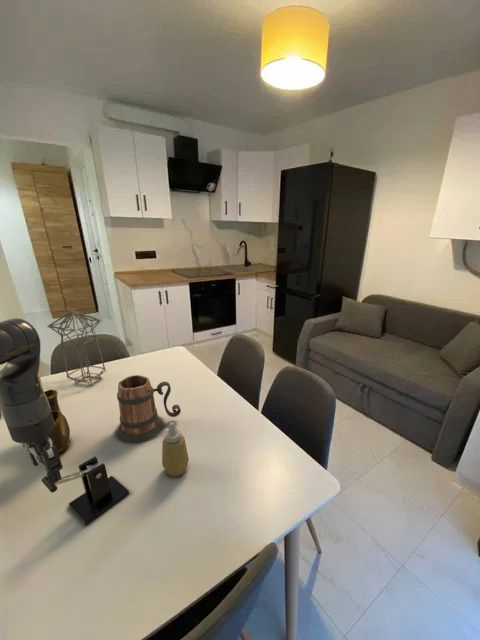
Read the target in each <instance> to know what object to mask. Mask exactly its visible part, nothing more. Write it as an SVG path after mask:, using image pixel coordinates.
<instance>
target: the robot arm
mask: <svg viewBox="0 0 480 640" xmlns="http://www.w3.org/2000/svg"><path fill="white" fill-rule="evenodd" d="M36 329H37V328H35V327H34V325H32V324H31V323H30V322H29V321H27V320H25V319H23V318H18V317H16V318H15V317H13V318H9V319H5V320H2V321H0V366H1V365H4V364H5V366H3V368H1V369H0V408H1V413H2V416H3V418H4V421H5V424H6V427H7V430H8V433H9V436H10V438H11V440H12V441H13V442H15V443H17V444H22V447H23V448H24V449H25V451H26V452H27V454H29V456H30V459H31V462H32V465H33V466H34V467H38V466H40V465H41V466H42V468H43V470H44V473H45V476H47V478H48V481H49V483H50V484H51V485H52V484H54V483H56V482H58V481H59V480H61V477H62V476H61V471H60V470H62V469H63V467H64V466H63V463H62V461H61V457H60V455H59V454H58V451H57V447H55V446H53V445H52V440H51V439H50V437H48V435H49V434H50V433H51V432H52V431H53V430H54V428H55V423H54V419H53V416H52V412H51V409H50V405H49V402H48V399H47V397H46V395H45V393H44V392H45V390H44V387H43V383H42V380H41V375H40V366H41V349H42V348H41V338H40V335H39V333H38V331H37V330H36ZM47 437H48V438H47Z"/></svg>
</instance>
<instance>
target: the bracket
mask: <svg viewBox="0 0 480 640" xmlns="http://www.w3.org/2000/svg"><path fill="white" fill-rule="evenodd" d="M95 463H98V464H99V461H98V457H96V456H93V457H91V458H90V459H88V460H86V461H84V462H83V463H81V464H79V465H78V466H77V467H78V472H80V471H84V470H86V466H88V465H91V464H95ZM80 478H81V482H82V485H83V489H84V493H82V494H81V495H79V496H78V497H76V498H75V499H73V500H72V501H70V502H69V503H68V507H69V508H70V509H71V510H72V511H73V513H74V514H75V515H76V516H77V517H78V519H80V520H81V522H82V523H83V524H84V525H85V526H87V525H89V524H90V523H92V522H93V521H95V520H96V519H97V518H98V517H100V516H101V515H102V514H104V513H105V512H107V511H108V510H109V509H111V508H112V507H113V506H115V505H116V504H118V503H119V502H120V501H122V500H123V499H124V498H126V497H127V496H128V495H130V491H129V489H127V488H126V487H125V486H124V485H123V484H122V483H121V482H120V481H118V480H117V479H116V478H115V477H114V476H112V475H111V476H109V477H108V471H107V467H106V464H105V463H103V462H102V463H101V464H99V466H97V467H96V468H94V469H92V470H91V471H89V472H87V473H86V476H83V477H80Z"/></svg>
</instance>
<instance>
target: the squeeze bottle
mask: <svg viewBox="0 0 480 640" xmlns="http://www.w3.org/2000/svg"><path fill="white" fill-rule="evenodd" d="M161 443H162V444H161V445H162V449H161V452H162V453H161V464H162V465H161V466H162V467H163V469H164V470H165V472H166V473H167V474H168V476H171V477H179V476H181V475H183V474H184V473H185V472H186V469H187V467H188V464H189V461H190V459H189V457H190V456H189V453H188V448H187V443H186V438H185V436H184V435H183V434H182V430H180V429H179V428H177V427H176V424H175V422H174V421H172V422H171V421H170V422H169V426H168V429H167V431H166V432H165V433H164V438H163V439H162V442H161Z"/></svg>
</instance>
